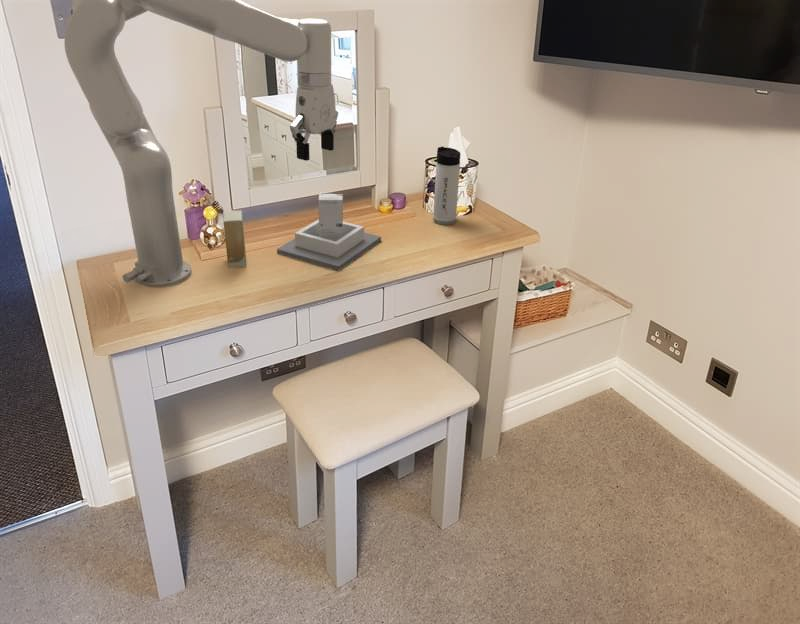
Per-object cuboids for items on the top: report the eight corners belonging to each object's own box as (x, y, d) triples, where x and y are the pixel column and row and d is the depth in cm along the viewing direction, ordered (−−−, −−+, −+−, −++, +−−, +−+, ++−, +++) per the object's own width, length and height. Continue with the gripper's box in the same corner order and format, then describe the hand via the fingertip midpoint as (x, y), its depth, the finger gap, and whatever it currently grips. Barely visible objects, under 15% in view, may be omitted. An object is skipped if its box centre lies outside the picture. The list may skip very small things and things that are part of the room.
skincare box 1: (228, 257, 168) (223, 210, 162) (246, 256, 169) (241, 209, 162) (228, 269, 162) (222, 220, 156) (246, 267, 163) (242, 219, 157)
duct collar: (338, 270, 163) (338, 252, 161) (277, 253, 170) (276, 235, 168) (380, 240, 178) (381, 224, 176) (323, 226, 186) (322, 209, 183)
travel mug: (443, 214, 195) (447, 144, 185) (460, 221, 191) (465, 150, 181) (427, 219, 191) (431, 148, 181) (444, 227, 187) (449, 155, 177)
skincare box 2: (318, 245, 172) (317, 199, 166) (319, 238, 176) (317, 193, 170) (343, 245, 172) (342, 199, 166) (343, 238, 176) (342, 193, 170)
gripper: (305, 88, 146) (306, 166, 154) (349, 75, 159) (349, 148, 167) (276, 82, 149) (279, 160, 157) (322, 71, 162) (323, 143, 171)
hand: (315, 154), depth 162 cm, fingers open, 9 cm apart
